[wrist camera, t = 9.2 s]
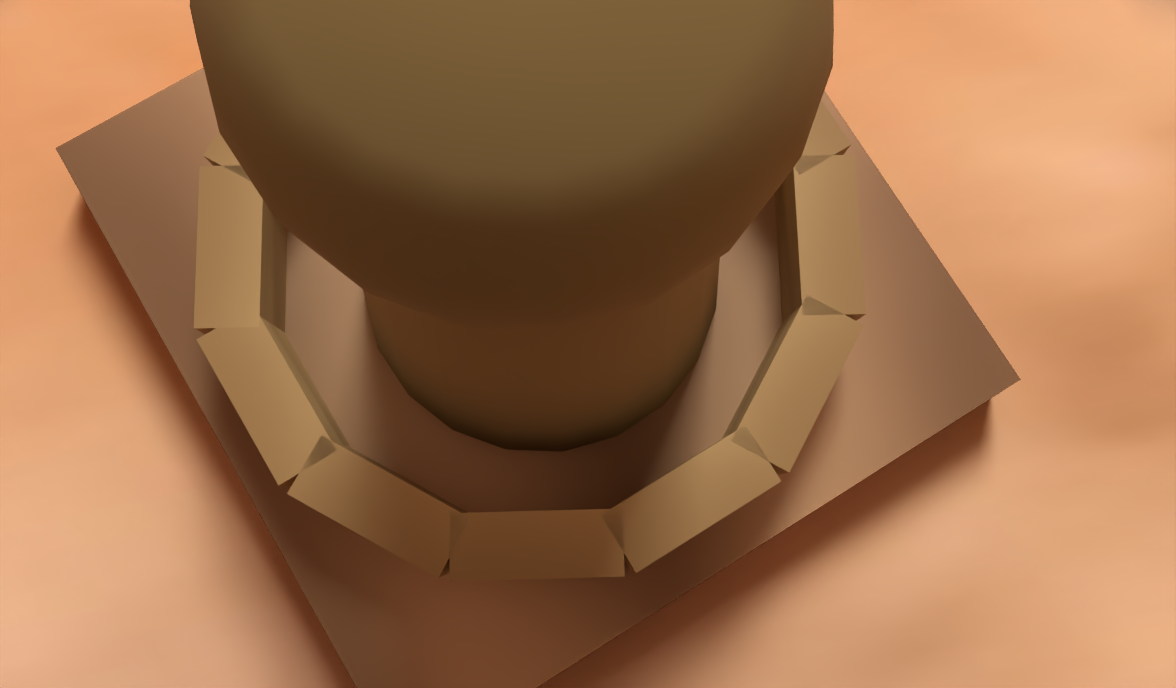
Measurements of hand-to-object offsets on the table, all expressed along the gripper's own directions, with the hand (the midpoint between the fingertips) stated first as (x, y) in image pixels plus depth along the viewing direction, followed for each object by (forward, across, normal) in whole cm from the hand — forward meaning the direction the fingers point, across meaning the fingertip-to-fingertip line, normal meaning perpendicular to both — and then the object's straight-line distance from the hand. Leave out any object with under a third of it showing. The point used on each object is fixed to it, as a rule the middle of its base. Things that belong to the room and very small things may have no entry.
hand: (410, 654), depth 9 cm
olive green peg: (+10, 0, +2) cm, 10 cm away
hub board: (+10, 0, +2) cm, 11 cm away
